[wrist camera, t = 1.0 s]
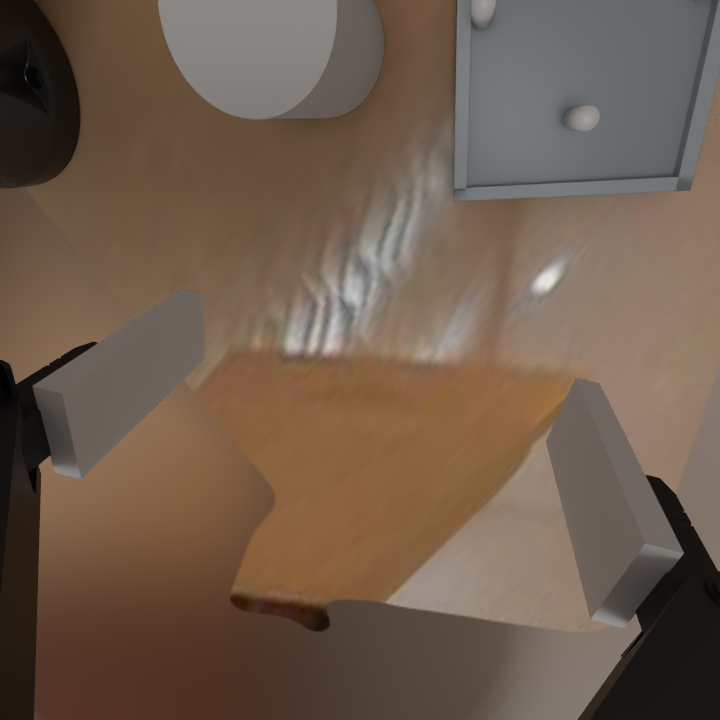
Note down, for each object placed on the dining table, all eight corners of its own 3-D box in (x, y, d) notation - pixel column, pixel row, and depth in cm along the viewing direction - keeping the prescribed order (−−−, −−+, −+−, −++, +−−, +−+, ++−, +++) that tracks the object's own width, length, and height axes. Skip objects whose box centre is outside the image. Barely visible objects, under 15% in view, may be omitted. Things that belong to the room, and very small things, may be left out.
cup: (363, -58, 27) (296, -166, 17) (398, 94, 30) (361, 82, 20) (245, 0, 30) (124, -62, 19) (290, 134, 33) (206, 143, 22)
